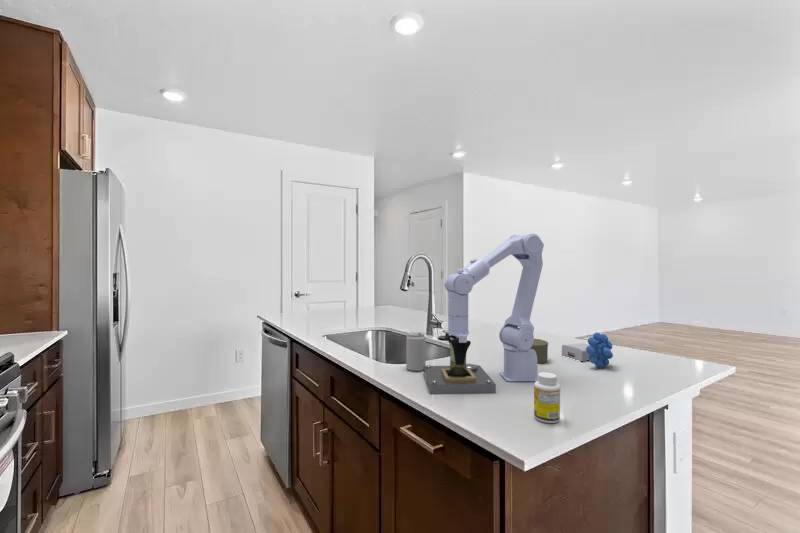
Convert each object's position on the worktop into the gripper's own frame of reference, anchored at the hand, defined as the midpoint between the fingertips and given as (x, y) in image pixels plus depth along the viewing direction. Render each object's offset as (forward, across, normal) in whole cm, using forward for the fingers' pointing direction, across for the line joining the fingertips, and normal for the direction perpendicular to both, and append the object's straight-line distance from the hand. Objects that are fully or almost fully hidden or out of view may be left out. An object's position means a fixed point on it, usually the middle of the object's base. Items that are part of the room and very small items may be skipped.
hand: (457, 362), depth 111 cm
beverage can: (+7, -16, -11) cm, 21 cm away
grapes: (+7, -15, +51) cm, 54 cm away
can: (+7, -26, +31) cm, 41 cm away
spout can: (+3, 0, 0) cm, 3 cm away
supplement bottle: (+7, +24, +16) cm, 30 cm away
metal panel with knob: (+7, -2, 0) cm, 7 cm away
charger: (+7, -30, +54) cm, 62 cm away
